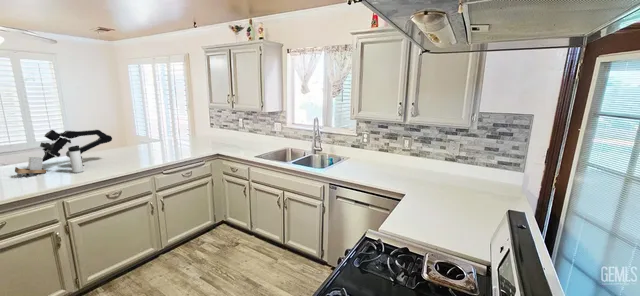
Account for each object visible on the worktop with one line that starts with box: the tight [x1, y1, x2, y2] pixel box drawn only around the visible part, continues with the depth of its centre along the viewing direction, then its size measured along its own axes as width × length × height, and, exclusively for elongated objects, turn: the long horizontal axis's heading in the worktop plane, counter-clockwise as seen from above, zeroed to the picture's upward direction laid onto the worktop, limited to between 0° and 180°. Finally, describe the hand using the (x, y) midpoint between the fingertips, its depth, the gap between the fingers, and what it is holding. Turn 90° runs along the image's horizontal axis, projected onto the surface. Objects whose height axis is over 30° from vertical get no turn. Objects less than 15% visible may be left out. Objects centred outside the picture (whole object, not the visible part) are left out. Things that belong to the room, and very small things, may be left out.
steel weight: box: [27, 156, 44, 170], centre depth 204 cm, size 6×6×9 cm
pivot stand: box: [16, 173, 44, 179], centre depth 203 cm, size 14×11×2 cm
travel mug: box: [67, 145, 84, 174], centre depth 208 cm, size 6×7×20 cm
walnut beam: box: [14, 167, 47, 174], centre depth 202 cm, size 14×8×4 cm, turn 147°
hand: (42, 161), depth 207 cm, fingers closed
